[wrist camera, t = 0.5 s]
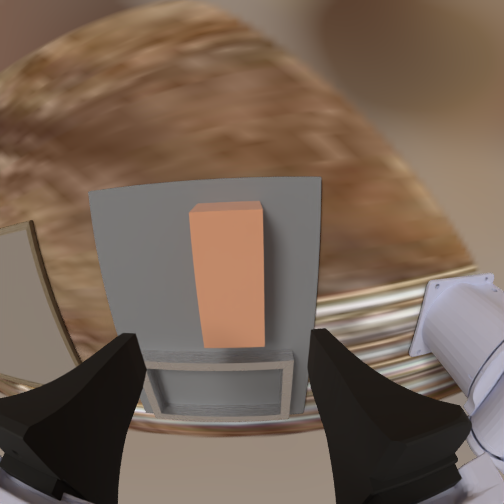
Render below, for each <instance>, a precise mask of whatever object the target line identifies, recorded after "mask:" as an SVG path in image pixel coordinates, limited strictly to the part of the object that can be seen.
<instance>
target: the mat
mask: <svg viewBox="0 0 504 504" xmlns="http://www.w3.org/2000/svg"><path fill="white" fill-rule="evenodd" d="M88 194H89V202H90V210H91V218H92V224H93V231H94V237H95V243H96V248H97V254H98V259H99V264H100V269H101V273H102V278H103V282H104V286H105V291H106V295H107V299H108V303H109V306H110V310H111V314H112V317H113V321H114V324H115V328H116V331H117V334H118V336H119V335H120V334H122V333H136V336H137V339H138V343H139V346H140V349H141V350H160V351H196V352H221V351H258V350H277V349H291V350H292V354H293V359H294V365H293V378H292V390H291V401H290V412H289V414H299V413H303V411H304V405H305V398H306V391H307V383H308V375H309V374H308V369H307V365H308V355H309V345H310V333H311V330H312V329H314V320H315V308H316V295H317V281H318V265H319V246H320V219H321V177H249V178H224V179H206V180H191V181H178V182H166V183H155V184H145V185H136V186H127V187H118V188H110V189H103V190H96V191H90V192H88ZM241 201H260V203H261V206H262V208H263V245H264V320H265V347H244V348H204V342H203V336H202V329H201V321H200V314H199V306H198V298H197V290H196V282H195V273H194V264H193V254H192V244H191V233H190V221H189V212H190V211H191V210H192V209H193V208H194V207H195V206H196V205H197V204H198V203H217V202H241ZM280 370H281V369H270V370H247V371H185V370H163V369H154V372H155V375H156V378H157V382H158V385H159V388H160V391H161V394H162V397H163V400H164V402H165V403H176V404H196V405H253V404H273V403H279V392H280ZM140 399H141V401H142V404H143V406H144V408H145V411H146V413H154V412H153V410H152V408H151V405H150V403H149V400H148V397H147V395H146V392H145V390H144V387H143V389H142V392H141V395H140Z"/></svg>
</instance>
